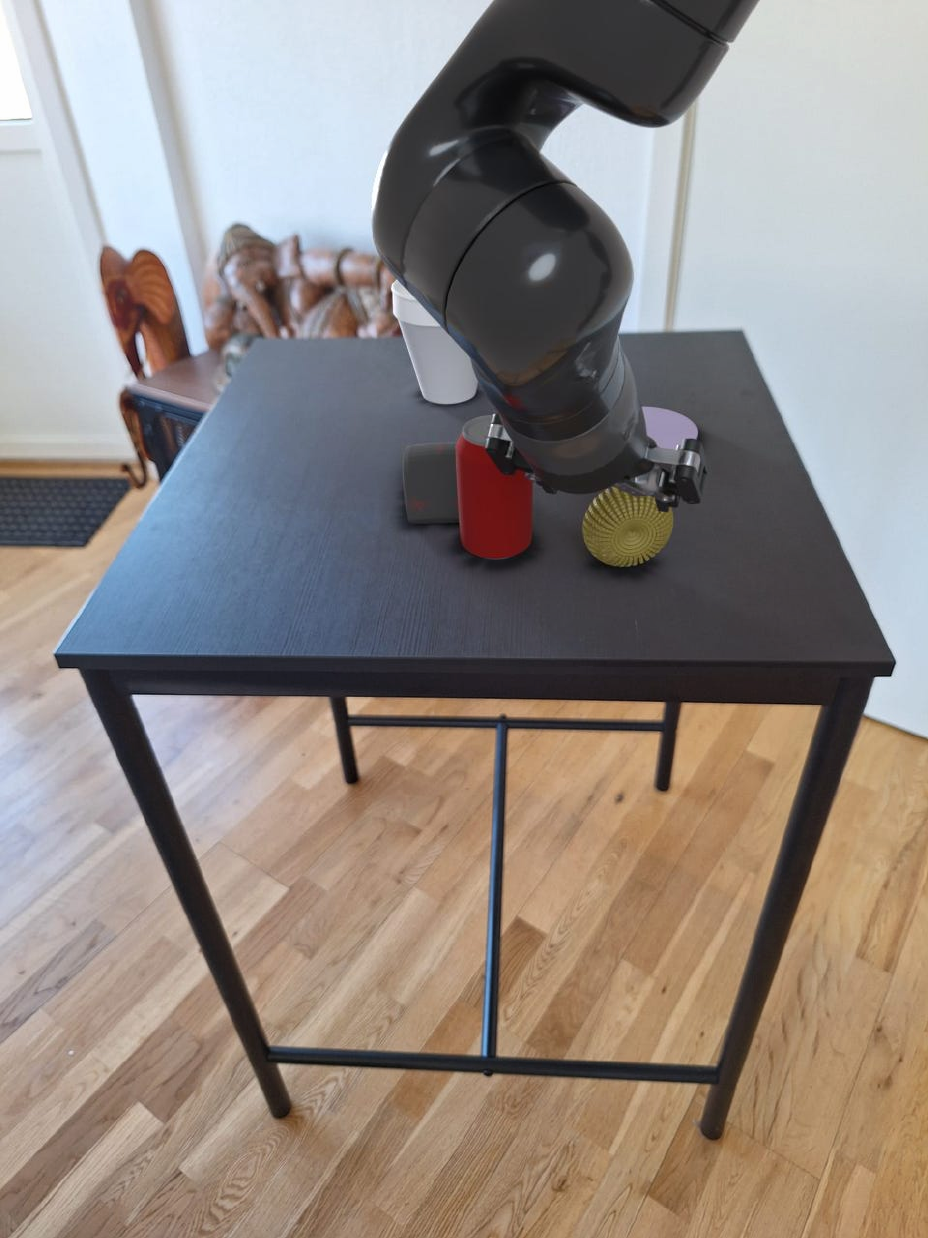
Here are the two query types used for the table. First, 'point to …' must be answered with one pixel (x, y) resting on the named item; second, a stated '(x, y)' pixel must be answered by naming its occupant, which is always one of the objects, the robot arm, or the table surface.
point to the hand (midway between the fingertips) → (609, 490)
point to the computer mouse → (431, 483)
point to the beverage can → (490, 498)
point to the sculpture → (625, 528)
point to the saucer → (668, 427)
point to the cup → (433, 352)
